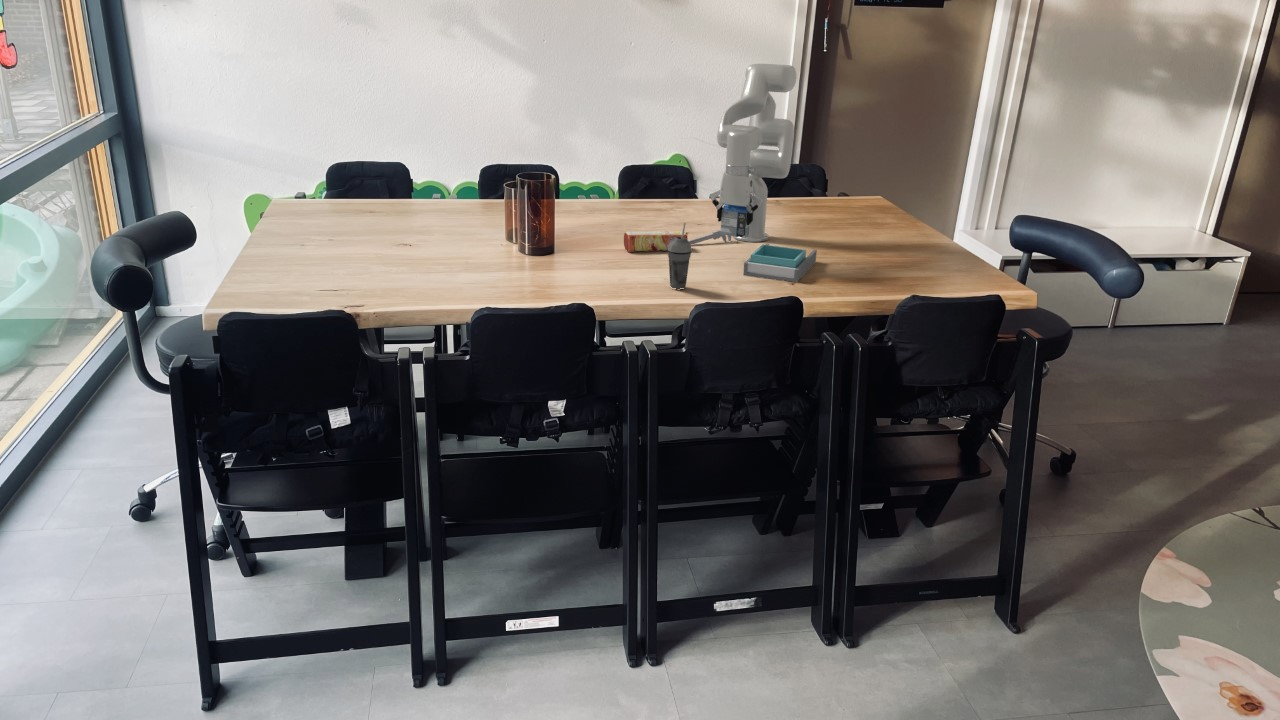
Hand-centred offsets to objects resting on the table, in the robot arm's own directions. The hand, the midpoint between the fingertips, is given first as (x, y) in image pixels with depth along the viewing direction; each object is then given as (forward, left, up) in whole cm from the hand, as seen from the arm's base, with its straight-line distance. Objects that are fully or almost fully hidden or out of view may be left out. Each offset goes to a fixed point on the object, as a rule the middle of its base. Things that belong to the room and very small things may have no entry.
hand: (734, 222), depth 323 cm
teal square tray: (+17, -5, -12) cm, 21 cm away
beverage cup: (-6, -36, -13) cm, 39 cm away
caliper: (-15, +17, -13) cm, 26 cm away
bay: (+17, -1, -13) cm, 21 cm away
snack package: (-28, +1, -13) cm, 31 cm away
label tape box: (0, +1, -5) cm, 5 cm away
